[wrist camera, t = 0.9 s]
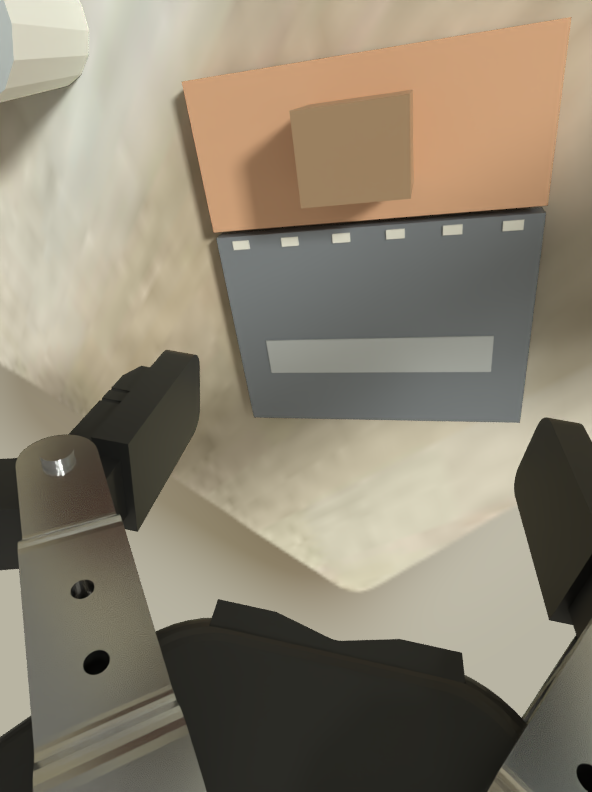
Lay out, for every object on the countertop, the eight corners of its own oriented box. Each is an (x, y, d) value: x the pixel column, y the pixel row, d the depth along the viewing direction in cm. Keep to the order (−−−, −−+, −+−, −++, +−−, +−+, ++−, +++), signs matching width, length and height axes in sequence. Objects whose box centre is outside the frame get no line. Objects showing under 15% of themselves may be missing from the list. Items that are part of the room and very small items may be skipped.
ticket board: (541, 207, 26) (546, 213, 25) (517, 412, 33) (519, 423, 32) (223, 232, 31) (215, 238, 30) (258, 408, 38) (253, 418, 37)
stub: (565, 19, 22) (599, 7, 18) (543, 200, 26) (567, 228, 22) (191, 81, 27) (141, 84, 22) (220, 227, 31) (183, 255, 26)
